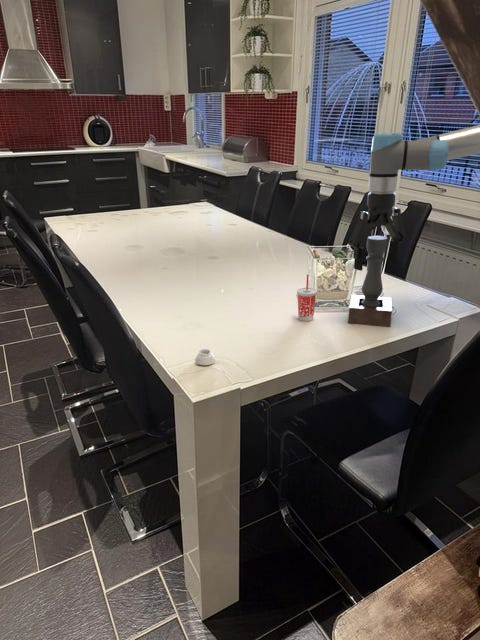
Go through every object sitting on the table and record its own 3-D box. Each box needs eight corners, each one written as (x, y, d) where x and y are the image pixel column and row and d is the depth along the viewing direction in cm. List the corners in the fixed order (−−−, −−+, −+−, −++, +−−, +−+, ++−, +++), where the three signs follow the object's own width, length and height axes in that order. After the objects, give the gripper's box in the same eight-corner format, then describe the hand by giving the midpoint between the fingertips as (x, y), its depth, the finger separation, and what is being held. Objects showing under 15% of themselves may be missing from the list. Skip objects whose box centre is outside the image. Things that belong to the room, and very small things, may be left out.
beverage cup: (310, 313, 148) (313, 271, 143) (318, 320, 143) (321, 276, 137) (292, 315, 147) (294, 272, 141) (300, 322, 141) (302, 278, 136)
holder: (389, 312, 148) (391, 297, 146) (390, 327, 137) (392, 311, 135) (350, 309, 151) (351, 294, 149) (347, 323, 140) (349, 307, 139)
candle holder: (375, 322, 140) (384, 240, 131) (356, 318, 144) (363, 238, 134) (382, 316, 145) (391, 236, 136) (362, 312, 148) (370, 234, 139)
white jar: (202, 356, 121) (191, 363, 117) (202, 345, 120) (190, 353, 116) (219, 360, 118) (207, 368, 115) (218, 349, 117) (207, 357, 113)
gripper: (403, 187, 139) (396, 257, 147) (338, 194, 128) (334, 269, 136) (423, 190, 133) (415, 262, 141) (357, 197, 122) (351, 275, 129)
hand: (375, 266), depth 138 cm, fingers open, 13 cm apart
